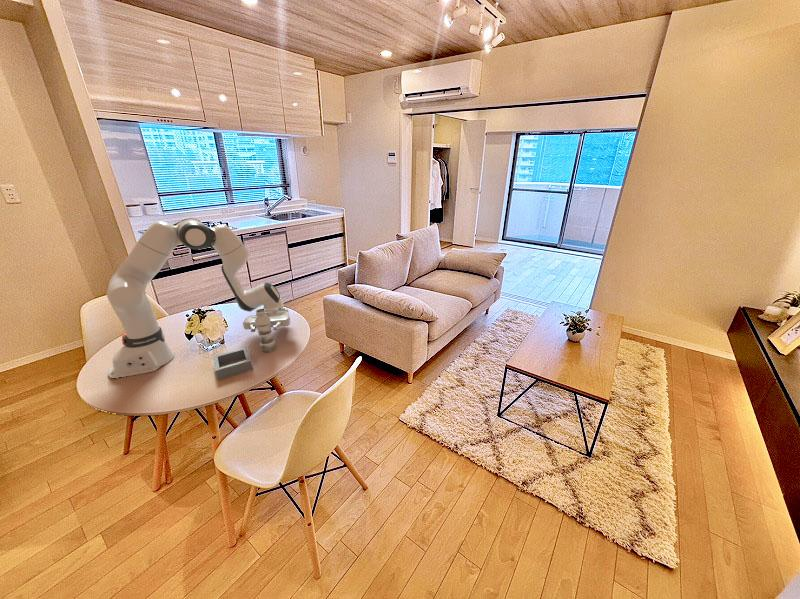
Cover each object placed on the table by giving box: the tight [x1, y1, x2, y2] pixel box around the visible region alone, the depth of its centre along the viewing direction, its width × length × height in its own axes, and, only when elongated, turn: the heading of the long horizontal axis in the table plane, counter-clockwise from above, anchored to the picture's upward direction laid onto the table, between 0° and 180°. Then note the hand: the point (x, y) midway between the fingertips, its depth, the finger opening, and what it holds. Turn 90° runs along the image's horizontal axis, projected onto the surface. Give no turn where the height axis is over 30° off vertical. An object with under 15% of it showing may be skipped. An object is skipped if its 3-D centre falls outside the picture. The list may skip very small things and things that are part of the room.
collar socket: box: [212, 346, 254, 381], centre depth 133 cm, size 13×12×4 cm
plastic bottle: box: [255, 308, 277, 353], centre depth 141 cm, size 6×7×20 cm
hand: (263, 329), depth 140 cm, fingers open, 8 cm apart
